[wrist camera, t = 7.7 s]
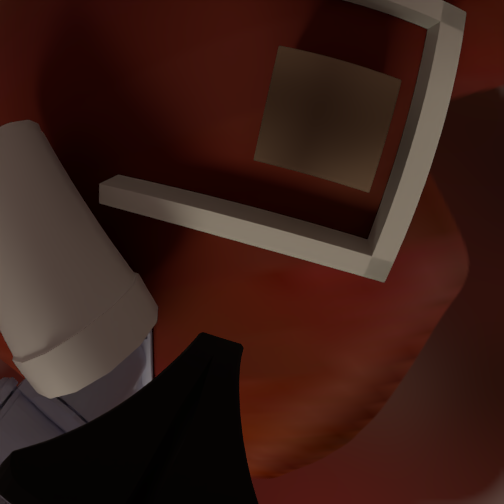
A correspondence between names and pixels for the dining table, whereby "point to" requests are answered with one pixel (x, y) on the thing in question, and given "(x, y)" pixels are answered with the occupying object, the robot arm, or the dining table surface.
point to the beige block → (326, 117)
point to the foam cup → (61, 274)
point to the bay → (312, 235)
